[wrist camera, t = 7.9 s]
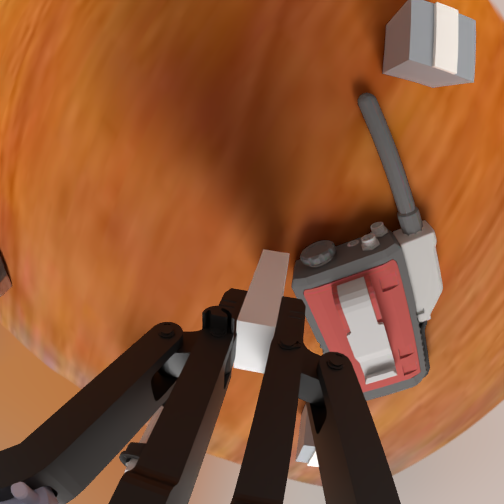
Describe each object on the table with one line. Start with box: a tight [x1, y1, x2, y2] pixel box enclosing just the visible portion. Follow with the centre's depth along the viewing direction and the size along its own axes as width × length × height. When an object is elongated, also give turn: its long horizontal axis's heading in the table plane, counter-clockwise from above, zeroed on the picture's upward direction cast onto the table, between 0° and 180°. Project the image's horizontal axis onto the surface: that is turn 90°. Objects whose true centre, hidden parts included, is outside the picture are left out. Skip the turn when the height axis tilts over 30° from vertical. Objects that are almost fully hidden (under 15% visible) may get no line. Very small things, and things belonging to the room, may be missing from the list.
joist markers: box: [296, 0, 476, 467], centre depth 16 cm, size 30×3×5 cm, turn 175°
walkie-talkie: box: [292, 93, 443, 401], centre depth 17 cm, size 9×4×20 cm
